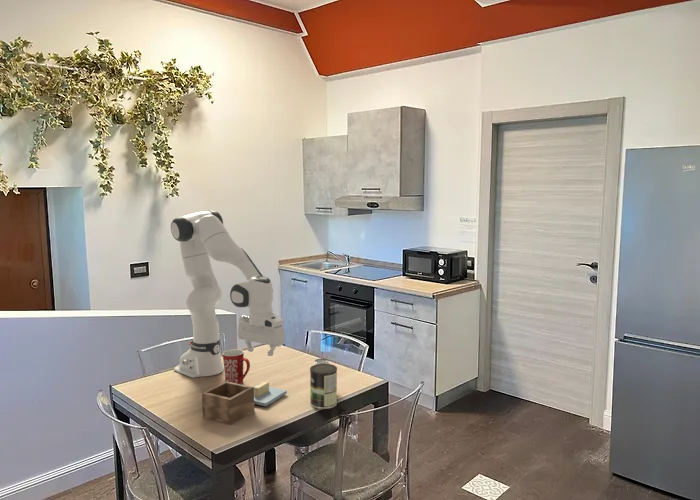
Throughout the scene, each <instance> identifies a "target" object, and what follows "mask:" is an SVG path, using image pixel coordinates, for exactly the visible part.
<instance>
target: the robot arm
mask: <svg viewBox="0 0 700 500" xmlns="http://www.w3.org/2000/svg"><path fill="white" fill-rule="evenodd" d="M170 232H171V234H172V237H173V239H175V240H176V241H178V242H179V243H180V244H179V245H180V255H181V258H182V262H183V267H184V270H185V275H186V276H187V278H188V279H189V280H190V283H191V285H192V287H193V290H191V291H190V293H189V294H188V296H187V298H186V307H187V310H189V313H190V318H191V323H192V332H193V333H192V335H193V340H191V341H189V342H188V345H189V346H190V348H189V349H188V350H187V351H186V352H184V353H183V354H182V355H181V356H180V358H179V364H178V365H176V366H175V367H174V369H173V371H175V372H177V373H179V374H182V375H185V376H187V377H189V378H194V379H195V378H199V377H210V376H216V375H219V374H220V373H222V372H224V362H223V361H222V353H221V338H220V327H219V326H220V325H219V324H220V323H219V320H218V319H217V314H216V309H215V308H216V306H217V304H219V302H220V301H221V298H222V296H223V290H222V288H221V286H220V284H218V281H217V278H216V277H215V274H214V271H213V268H212V264H211V260H210V258H211V259H213V260H214V261H216V262H217V261H218V262H221V263H227V264H229V265H233V266H235V267H236V268H238V269H239V270H240V271H241V273H242V274H243V275H244V277H245V278H246V280H245V281H243V282H238V283H236V284H234V285H233V286H232V287H231V289H230V291H229V292H230V294H229V297H230V301H231V303H232V305H233V306H235V307H237V308H248V309H249V311H248V313H249V314H248V316H247V315H241V316H240V317H239V319H238V328H237V337H238V339H240V340H244V342H245V344H246V347H247V351H248V352H249V353H252V352H254V348H255V347H254V345H252V342H253V343H254V342H255V343H259V344H264V345H268V346H269V348H270V349H269V350H267V356H269V357H272V356H274V351H275V349H276V347H281V346H283V345H284V344H285V340H286V339H285V338H286V336H285V335H286V334H285V328H284V326H283V324H284V319H283V318H282V317H279V316H278V315H276V314H275V313H273V307H272V303H273V299H274V298H273V293H274V289H273V285H272V284H273V283H272V281H271V279H270V278H268V277H267V276H265V275H263V274H262V273H261V272H260V270H259V268H258V267H257V265H256V264H255V263H254V261H253V260H252V259H251V257H250V256H249V255H248V253H247V252H246V251H245V250H244V249H243V248H241V247H240V246H239V245H238V244H237V243H236V242H235V240H234V239H233V238H232V237H231V235H230V234H229V232H228V230H227V228H226V227H225V225H224V220H223V217H222V215H221V214H220V213H219V212H218V211H217V210H207V211H199V212H198V211H196V212H193V213H189V214H186V215H183V216H181V215H180V216H178V217H176V218H174V219H172V221H171V223H170Z"/></svg>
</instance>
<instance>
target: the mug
mask: <svg viewBox="0 0 700 500" xmlns="http://www.w3.org/2000/svg"><path fill="white" fill-rule="evenodd" d="M244 354H245V351H244V350H243V349H237V348H234V349H228V350H224V351H222V353H221V356H222V358H223V361H222V363H223V368H224V370H223V372H224V382H226V381H228V382H232V383H237V384H241V385H244V384H243V383H244V379H245V377H246V376H247V375H248V373H249V371H250V368H251V364H250V363H251V362H250V359H249V358H246V357H244V356H245V355H244ZM244 363H245V364H246V369H245V372H244Z"/></svg>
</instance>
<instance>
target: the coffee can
mask: <svg viewBox="0 0 700 500" xmlns="http://www.w3.org/2000/svg"><path fill="white" fill-rule="evenodd" d="M309 372H310V373H309V374H310V377H309V378H310V381H309V382H310V389H309V390H310V395H309V396H310V397H309V398H310V406H311V407H312V408H315V409H318V410H327V409H329V410H330V409H332V408H335V407H336V406H337V403H338V401H337V400H338V399H337V396H338V393H337V388H338V387H337V385H338V384H337V383H338V367H337V365H334V364H332V363H329V364H317V365H314V364H313V365H312V366H310V368H309Z"/></svg>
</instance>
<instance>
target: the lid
mask: <svg viewBox="0 0 700 500" xmlns="http://www.w3.org/2000/svg"><path fill="white" fill-rule="evenodd" d="M253 387H254V405H257V406H263V407H267V406H269V405H270V404H272V403H274V402H276V400H279V399H280V398H282V397H283V396H285V395H286V394H288V390H286V389H283V388H282V389H281V388H276V387H272V386H270V382H269V381H263V382H261V383H260V384H259V383H258V384H256V385H255V386H253Z"/></svg>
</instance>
